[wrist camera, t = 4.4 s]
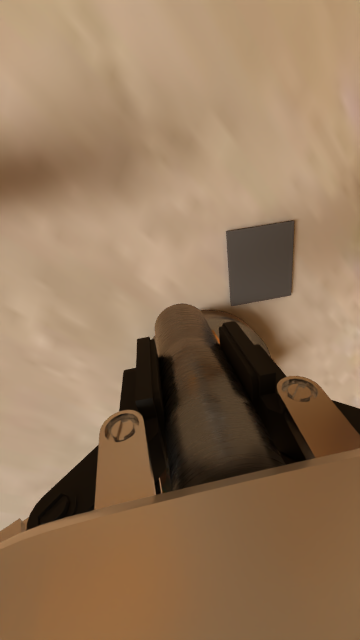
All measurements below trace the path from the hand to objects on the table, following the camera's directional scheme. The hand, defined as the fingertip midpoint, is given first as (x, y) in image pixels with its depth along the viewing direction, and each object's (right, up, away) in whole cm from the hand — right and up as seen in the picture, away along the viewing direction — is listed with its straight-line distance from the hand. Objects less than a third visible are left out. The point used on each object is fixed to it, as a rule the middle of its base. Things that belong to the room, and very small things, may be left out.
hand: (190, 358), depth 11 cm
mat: (+8, +8, +15) cm, 19 cm away
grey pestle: (0, +1, +3) cm, 3 cm away
